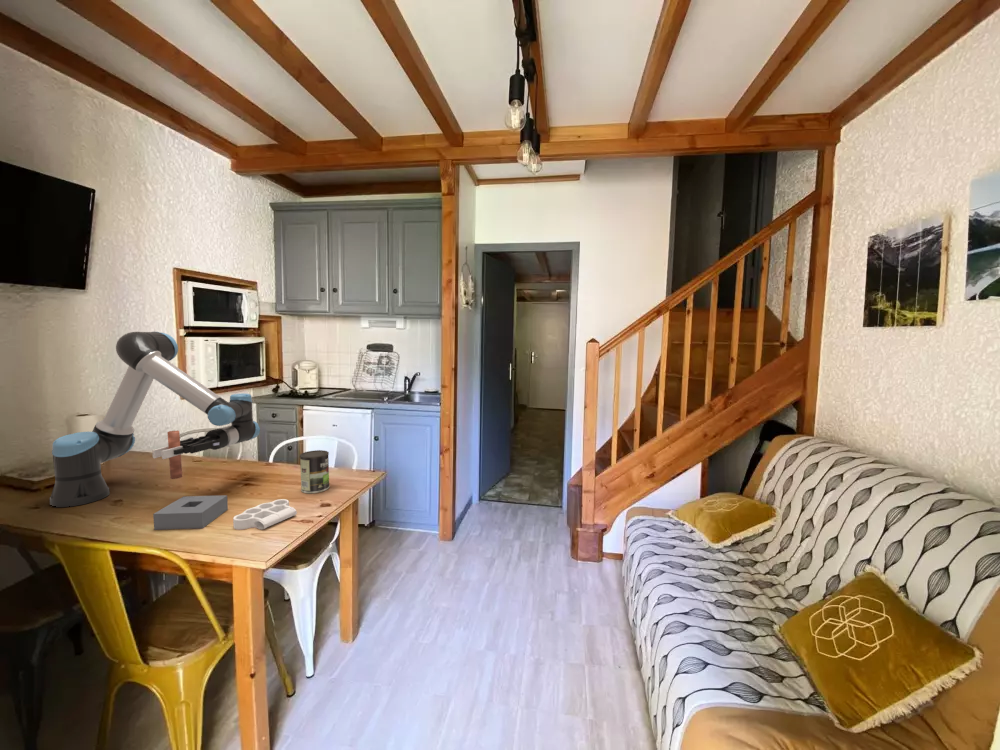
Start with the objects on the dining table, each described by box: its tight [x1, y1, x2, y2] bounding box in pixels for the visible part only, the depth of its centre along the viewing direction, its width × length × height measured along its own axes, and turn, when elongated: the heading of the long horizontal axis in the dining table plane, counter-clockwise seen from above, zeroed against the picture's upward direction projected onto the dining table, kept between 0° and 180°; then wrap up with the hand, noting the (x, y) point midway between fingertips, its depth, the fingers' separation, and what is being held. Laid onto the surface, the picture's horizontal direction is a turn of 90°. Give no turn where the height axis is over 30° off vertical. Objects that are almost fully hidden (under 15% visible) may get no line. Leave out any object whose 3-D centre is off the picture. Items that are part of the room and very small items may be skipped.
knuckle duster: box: [232, 498, 298, 531], centre depth 136 cm, size 3×18×15 cm
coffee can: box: [299, 449, 330, 494], centre depth 162 cm, size 10×10×14 cm
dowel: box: [166, 430, 183, 480], centre depth 142 cm, size 3×3×16 cm
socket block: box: [152, 494, 229, 531], centre depth 134 cm, size 14×14×5 cm
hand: (158, 454), depth 136 cm, fingers closed on dowel, 3 cm apart
